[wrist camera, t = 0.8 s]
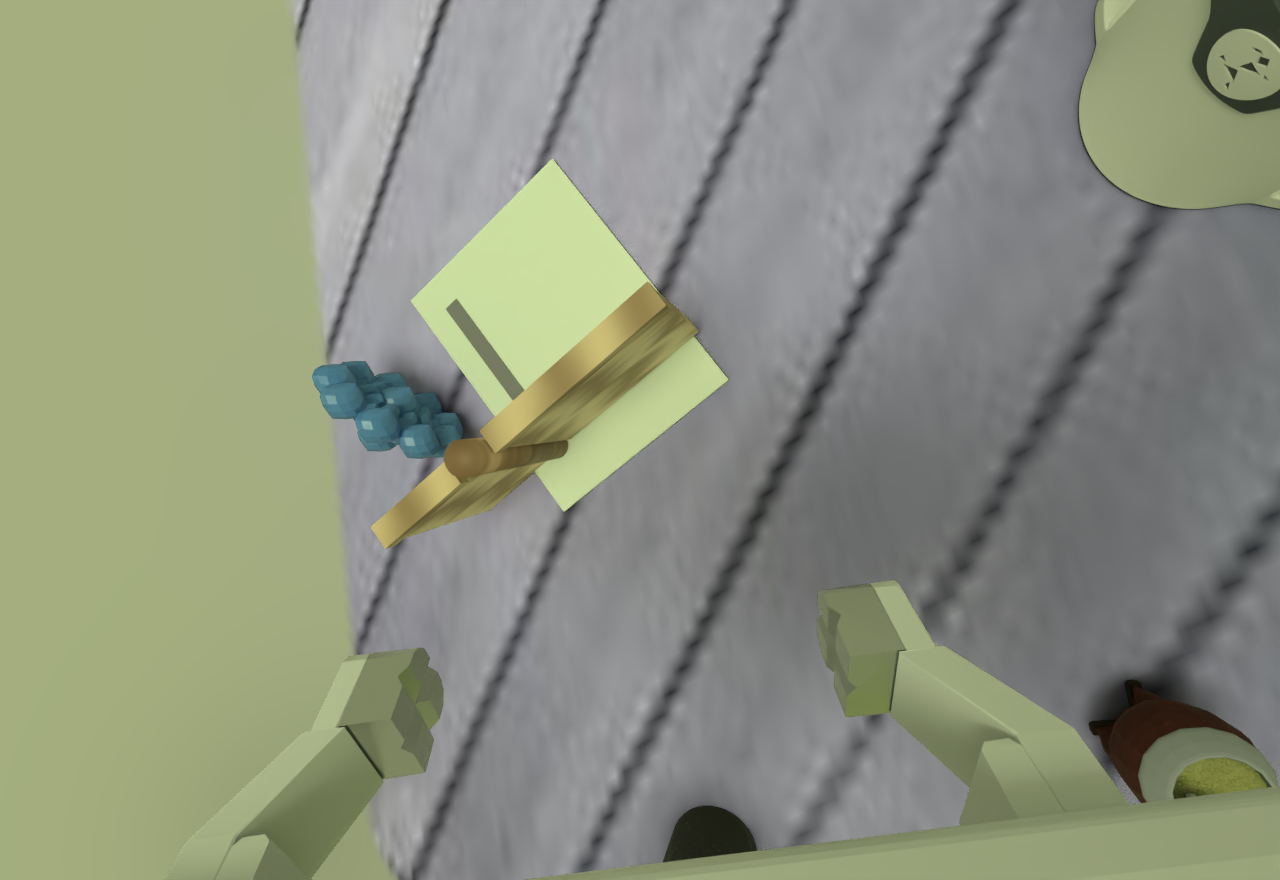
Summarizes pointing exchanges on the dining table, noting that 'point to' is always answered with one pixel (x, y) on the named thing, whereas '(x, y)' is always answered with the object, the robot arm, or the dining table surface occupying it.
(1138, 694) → the mate gourd
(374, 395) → the grapes
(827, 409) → the dining table surface
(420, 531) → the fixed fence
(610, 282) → the board
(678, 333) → the gate panel
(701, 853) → the travel mug
